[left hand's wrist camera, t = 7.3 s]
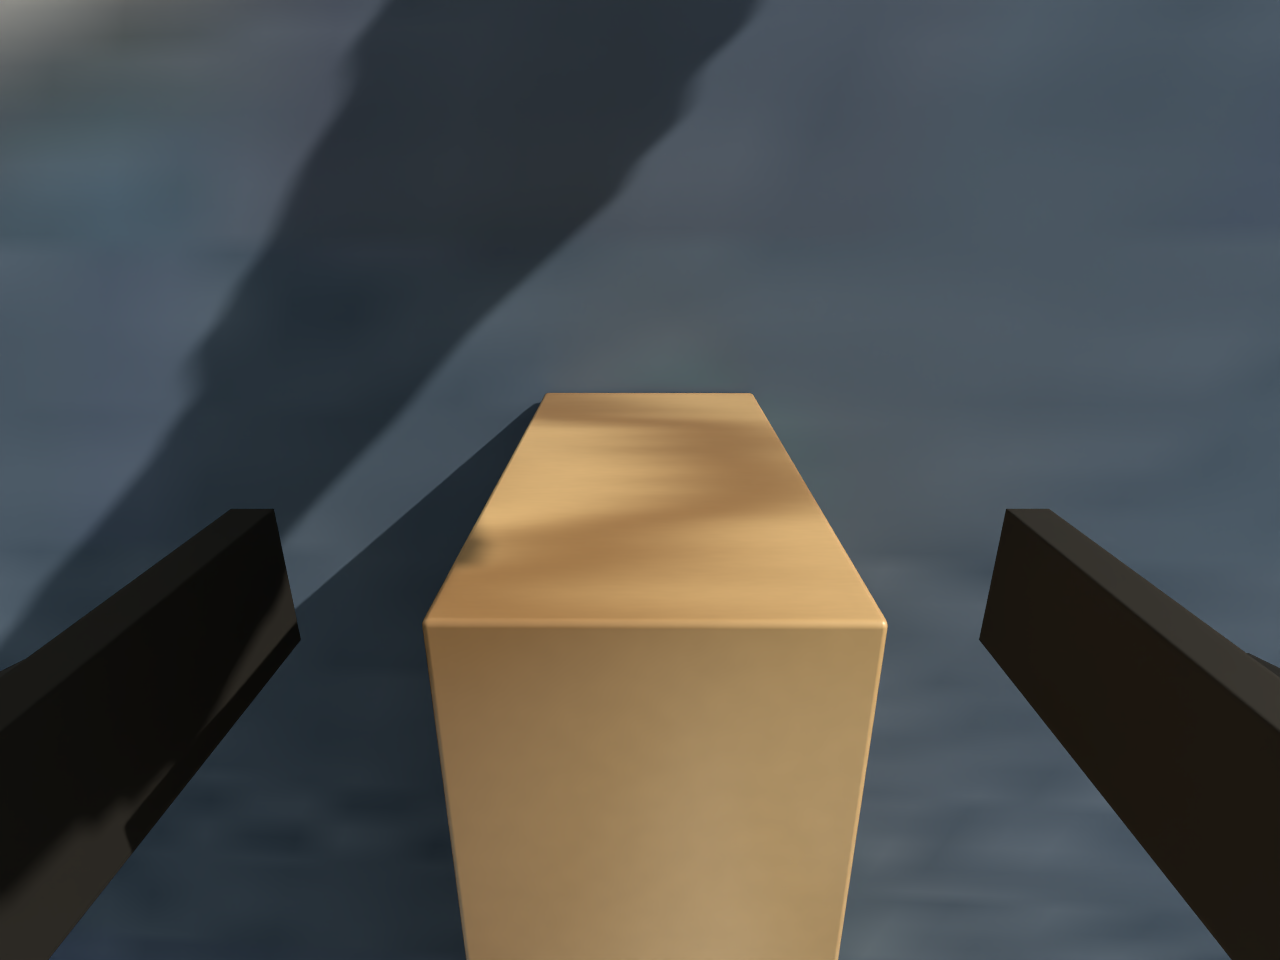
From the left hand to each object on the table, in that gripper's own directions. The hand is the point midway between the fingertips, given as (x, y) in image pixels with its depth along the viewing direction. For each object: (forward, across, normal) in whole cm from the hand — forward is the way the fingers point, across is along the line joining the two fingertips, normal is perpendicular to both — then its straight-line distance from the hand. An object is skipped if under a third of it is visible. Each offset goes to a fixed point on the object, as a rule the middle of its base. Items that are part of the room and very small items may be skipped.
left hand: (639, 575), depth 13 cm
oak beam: (+2, 0, +10) cm, 10 cm away
